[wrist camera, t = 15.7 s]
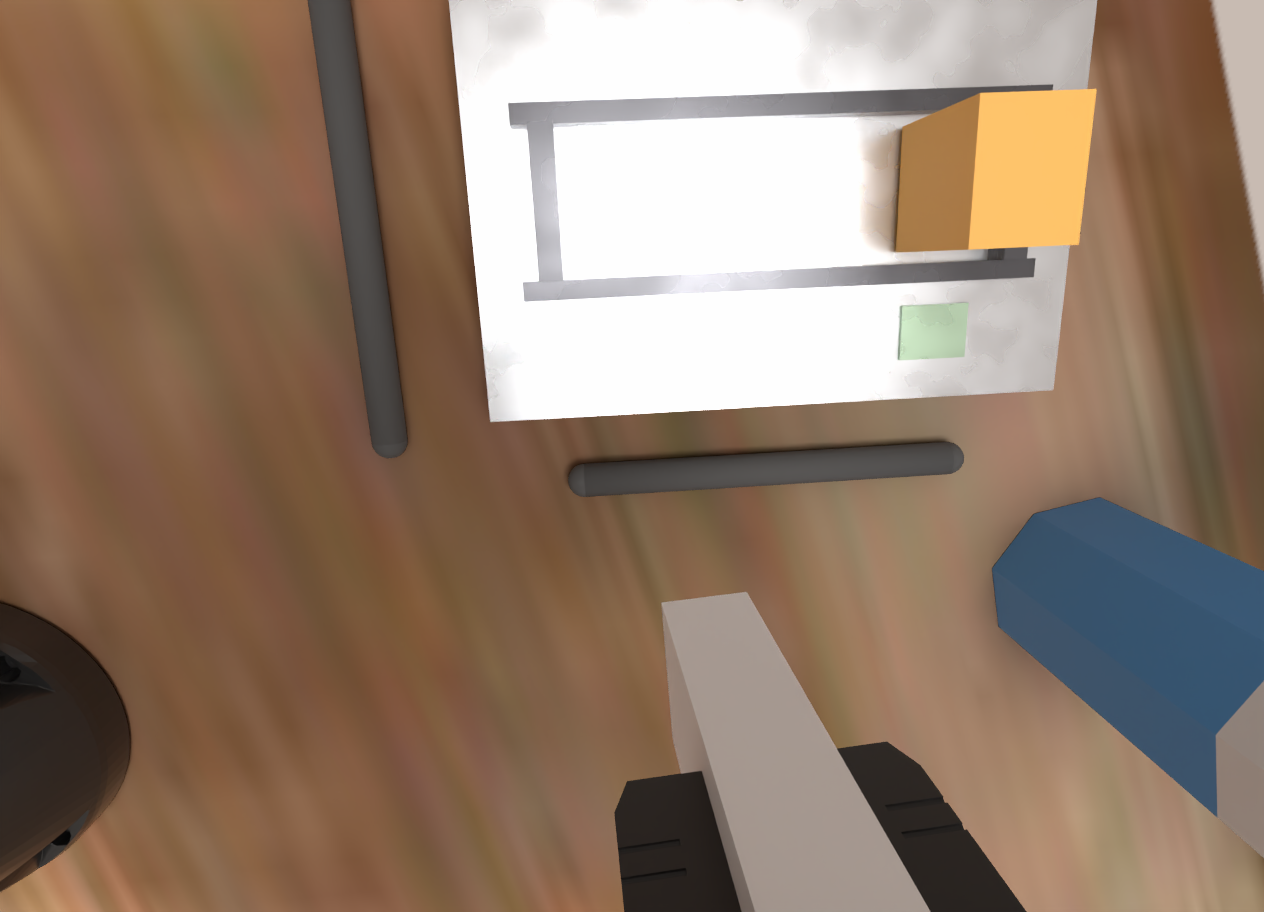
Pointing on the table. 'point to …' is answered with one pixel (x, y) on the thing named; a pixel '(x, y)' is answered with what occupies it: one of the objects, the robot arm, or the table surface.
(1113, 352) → the table surface
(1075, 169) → the matte orange cube
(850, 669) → the table surface
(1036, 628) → the water bottle
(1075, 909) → the table surface
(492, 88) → the panel
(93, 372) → the table surface
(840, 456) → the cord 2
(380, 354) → the rounded gray dowel
